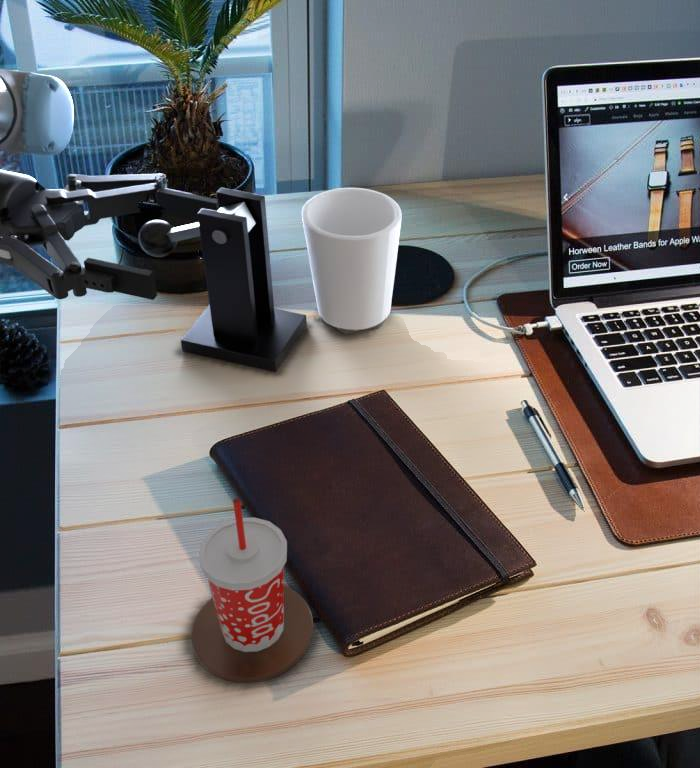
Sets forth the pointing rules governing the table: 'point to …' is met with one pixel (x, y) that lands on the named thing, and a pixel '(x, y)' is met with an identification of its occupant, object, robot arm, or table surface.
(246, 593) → the beverage cup
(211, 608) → the coaster
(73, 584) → the table surface
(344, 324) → the cup
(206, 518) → the table surface
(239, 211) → the switch lever
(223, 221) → the switch bracket
